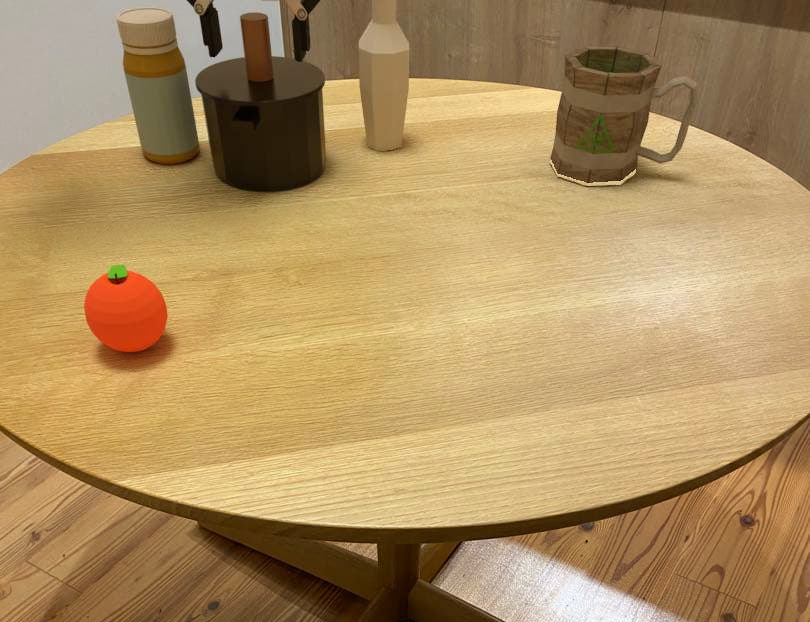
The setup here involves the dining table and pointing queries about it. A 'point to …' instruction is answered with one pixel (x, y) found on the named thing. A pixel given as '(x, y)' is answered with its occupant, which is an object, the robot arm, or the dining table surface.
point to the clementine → (125, 310)
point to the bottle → (158, 85)
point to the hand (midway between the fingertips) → (258, 55)
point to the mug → (610, 113)
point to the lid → (259, 72)
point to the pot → (267, 143)
